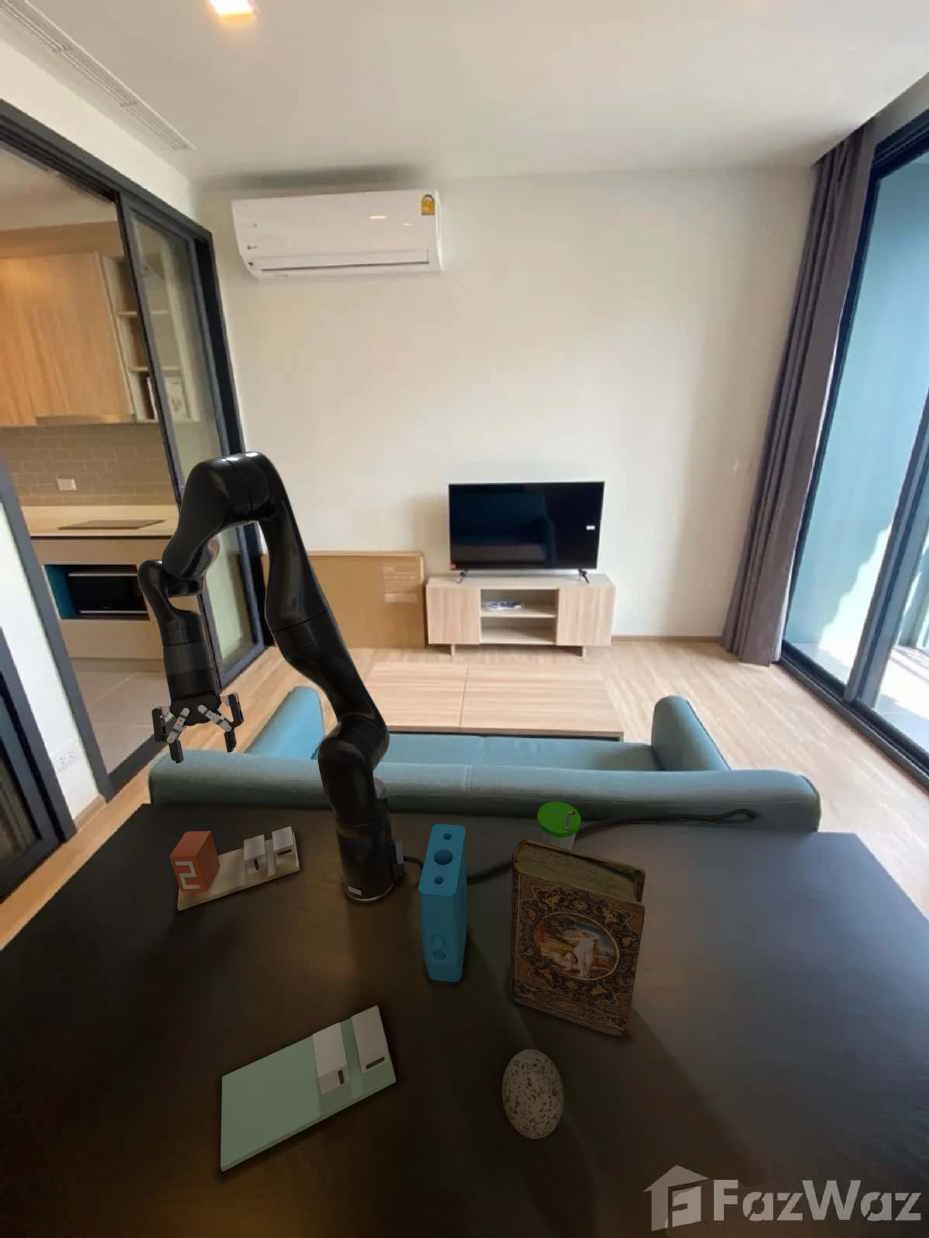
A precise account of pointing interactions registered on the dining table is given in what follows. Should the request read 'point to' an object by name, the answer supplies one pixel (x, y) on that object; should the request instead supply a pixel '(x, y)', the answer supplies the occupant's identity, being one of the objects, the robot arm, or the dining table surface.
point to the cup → (558, 824)
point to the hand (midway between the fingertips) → (205, 756)
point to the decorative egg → (532, 1094)
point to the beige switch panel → (249, 867)
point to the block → (444, 903)
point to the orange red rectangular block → (195, 861)
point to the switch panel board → (302, 1085)
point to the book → (575, 934)
